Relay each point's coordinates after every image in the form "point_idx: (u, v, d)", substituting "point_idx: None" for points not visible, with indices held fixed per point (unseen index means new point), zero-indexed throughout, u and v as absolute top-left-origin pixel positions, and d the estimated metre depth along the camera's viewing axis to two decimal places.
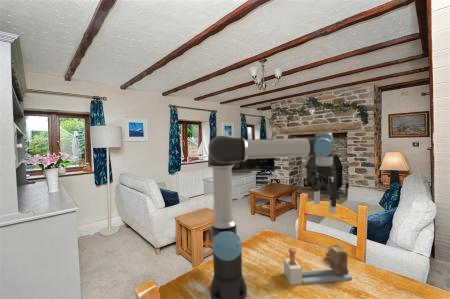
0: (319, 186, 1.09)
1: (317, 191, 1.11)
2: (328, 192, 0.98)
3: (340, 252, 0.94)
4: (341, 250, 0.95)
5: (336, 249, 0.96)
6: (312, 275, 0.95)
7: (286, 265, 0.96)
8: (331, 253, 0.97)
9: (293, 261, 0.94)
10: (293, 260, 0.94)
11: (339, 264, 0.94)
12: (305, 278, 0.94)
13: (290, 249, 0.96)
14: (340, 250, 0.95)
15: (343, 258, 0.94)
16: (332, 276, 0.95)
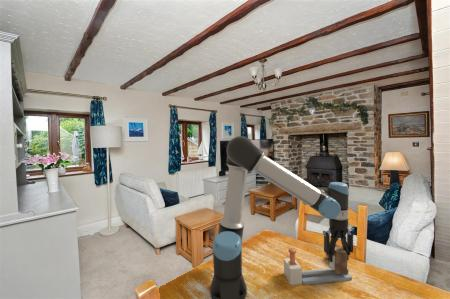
0: (343, 245, 0.96)
1: None
2: None
3: (340, 252, 0.94)
4: (341, 250, 0.95)
5: (336, 249, 0.96)
6: (312, 275, 0.95)
7: (286, 265, 0.96)
8: None
9: (293, 261, 0.94)
10: (293, 260, 0.94)
11: (339, 264, 0.94)
12: (305, 278, 0.94)
13: (290, 249, 0.96)
14: (340, 250, 0.95)
15: (343, 258, 0.94)
16: (332, 276, 0.95)
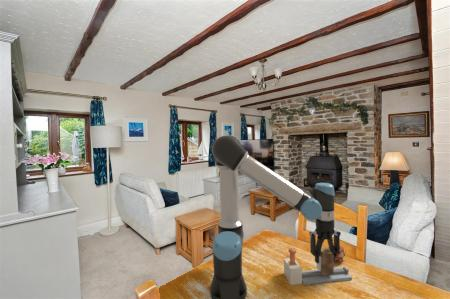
0: (330, 246, 0.95)
1: None
2: None
3: (326, 253, 0.93)
4: (327, 251, 0.94)
5: (323, 250, 0.95)
6: (312, 275, 0.95)
7: (286, 265, 0.96)
8: None
9: (293, 261, 0.94)
10: (293, 260, 0.94)
11: (325, 265, 0.93)
12: (305, 278, 0.94)
13: (290, 249, 0.96)
14: (326, 251, 0.94)
15: (329, 260, 0.93)
16: (332, 276, 0.95)
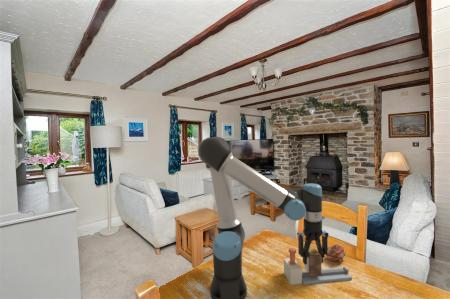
0: (318, 247, 0.95)
1: None
2: None
3: (314, 254, 0.93)
4: (315, 252, 0.94)
5: (310, 251, 0.95)
6: None
7: (286, 265, 0.96)
8: None
9: (293, 261, 0.94)
10: (293, 260, 0.94)
11: (312, 266, 0.93)
12: (305, 278, 0.94)
13: (290, 249, 0.96)
14: (314, 252, 0.94)
15: (317, 261, 0.93)
16: (332, 276, 0.95)
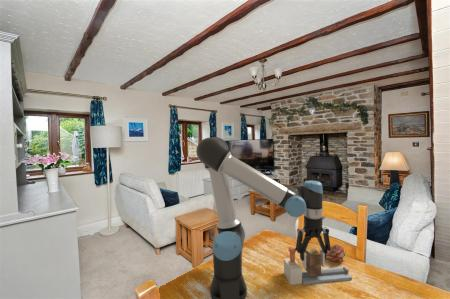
0: (320, 243, 0.95)
1: (322, 251, 0.95)
2: None
3: (314, 254, 0.93)
4: (315, 252, 0.94)
5: (310, 251, 0.95)
6: None
7: (286, 265, 0.96)
8: (306, 255, 0.96)
9: (293, 260, 0.94)
10: (293, 259, 0.94)
11: (312, 266, 0.93)
12: (305, 278, 0.94)
13: (290, 248, 0.96)
14: (314, 252, 0.94)
15: (317, 261, 0.93)
16: (332, 276, 0.95)
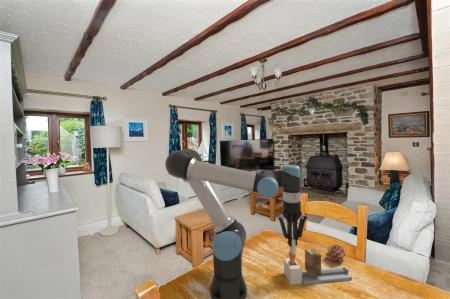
0: (294, 229, 0.94)
1: (293, 238, 0.95)
2: None
3: (314, 254, 0.93)
4: (315, 252, 0.94)
5: (310, 251, 0.95)
6: None
7: (286, 265, 0.96)
8: (306, 255, 0.96)
9: (293, 264, 0.95)
10: (293, 263, 0.95)
11: (312, 266, 0.93)
12: (305, 278, 0.94)
13: (290, 252, 0.96)
14: (314, 252, 0.94)
15: (317, 261, 0.93)
16: (332, 276, 0.95)
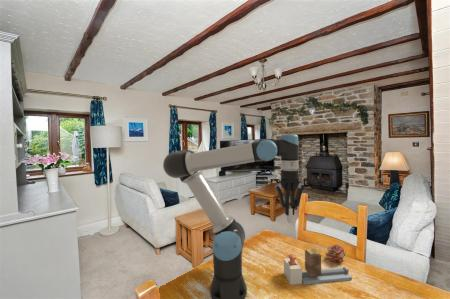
0: (291, 198, 0.94)
1: (290, 207, 0.95)
2: None
3: (314, 254, 0.93)
4: (315, 252, 0.94)
5: (310, 251, 0.95)
6: None
7: (286, 265, 0.96)
8: (306, 255, 0.96)
9: None
10: None
11: (312, 266, 0.93)
12: (305, 278, 0.94)
13: (290, 255, 0.96)
14: (314, 252, 0.94)
15: (317, 261, 0.93)
16: (332, 276, 0.95)
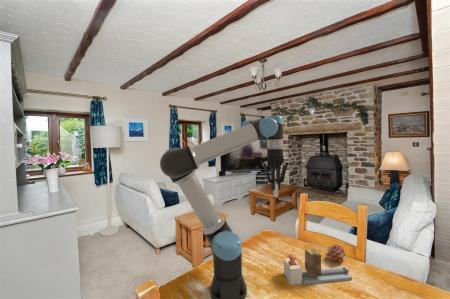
0: (277, 174, 1.03)
1: (276, 183, 1.04)
2: None
3: (314, 254, 0.93)
4: (315, 252, 0.94)
5: (310, 251, 0.95)
6: None
7: (286, 265, 0.96)
8: (306, 255, 0.96)
9: None
10: None
11: (312, 266, 0.93)
12: (305, 278, 0.94)
13: (290, 255, 0.96)
14: (314, 252, 0.94)
15: (317, 261, 0.93)
16: (332, 276, 0.95)
